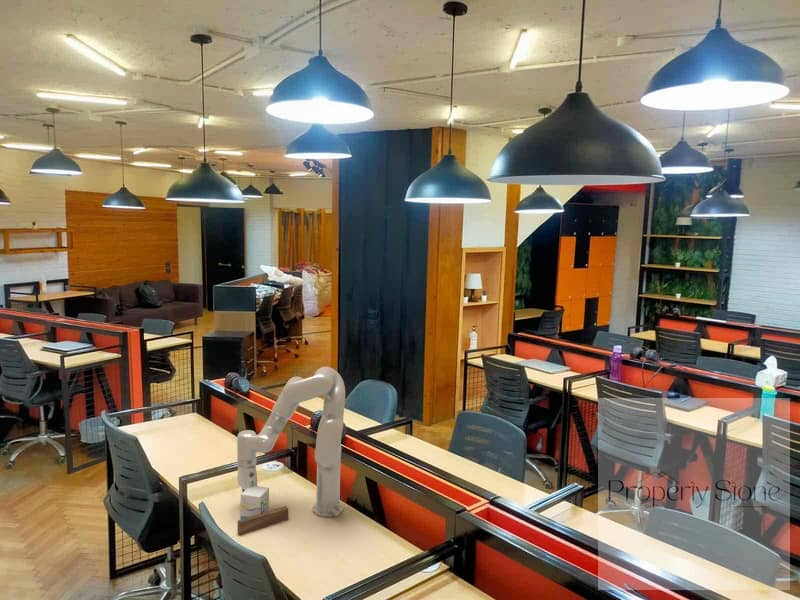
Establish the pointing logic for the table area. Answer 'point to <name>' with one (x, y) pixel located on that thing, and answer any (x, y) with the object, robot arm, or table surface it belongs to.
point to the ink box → (254, 501)
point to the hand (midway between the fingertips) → (246, 503)
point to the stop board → (262, 520)
